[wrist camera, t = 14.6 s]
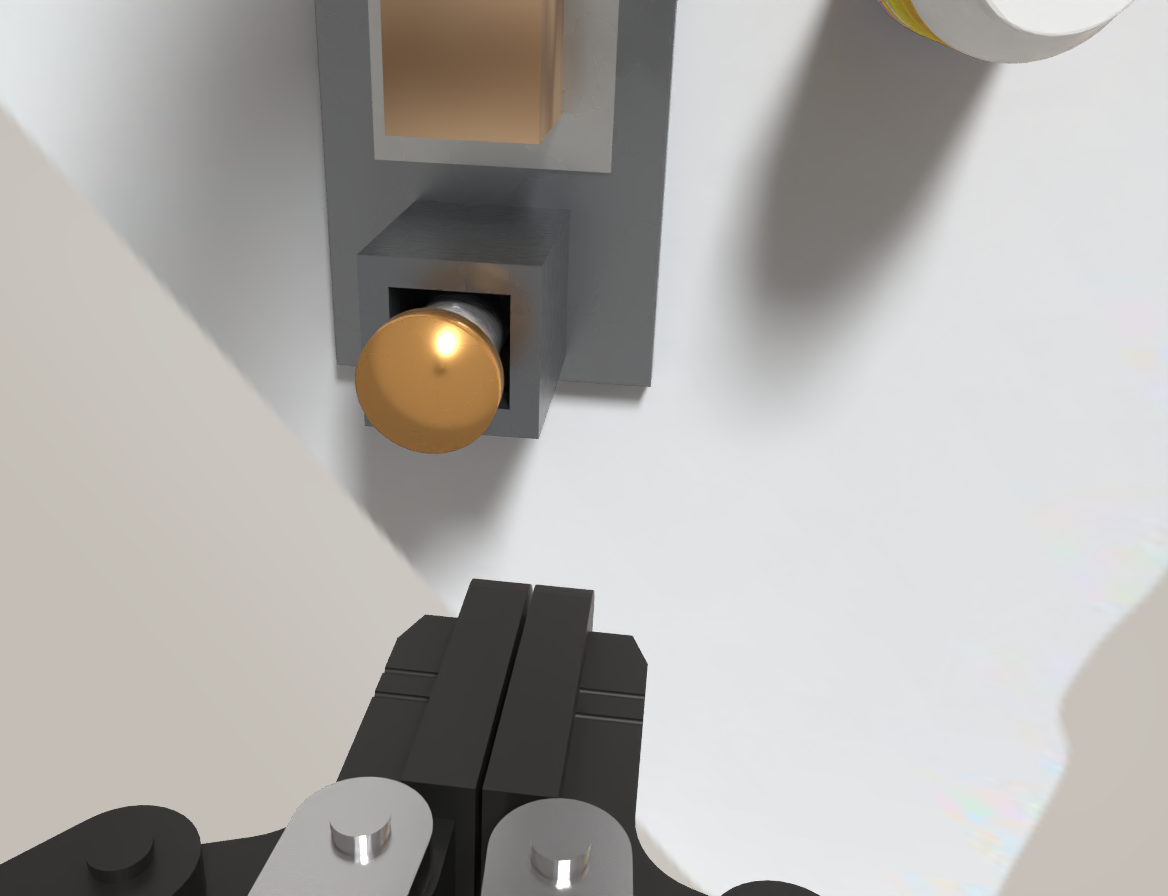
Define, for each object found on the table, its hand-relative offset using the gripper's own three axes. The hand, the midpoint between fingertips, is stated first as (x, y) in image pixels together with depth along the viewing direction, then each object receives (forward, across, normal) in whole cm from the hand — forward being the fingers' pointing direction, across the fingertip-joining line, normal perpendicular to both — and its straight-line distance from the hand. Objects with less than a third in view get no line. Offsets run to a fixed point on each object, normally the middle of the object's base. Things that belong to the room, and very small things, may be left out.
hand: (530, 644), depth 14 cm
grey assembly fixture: (+32, +6, 0) cm, 32 cm away
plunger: (+30, +6, +5) cm, 31 cm away
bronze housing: (+31, +6, -4) cm, 31 cm away
